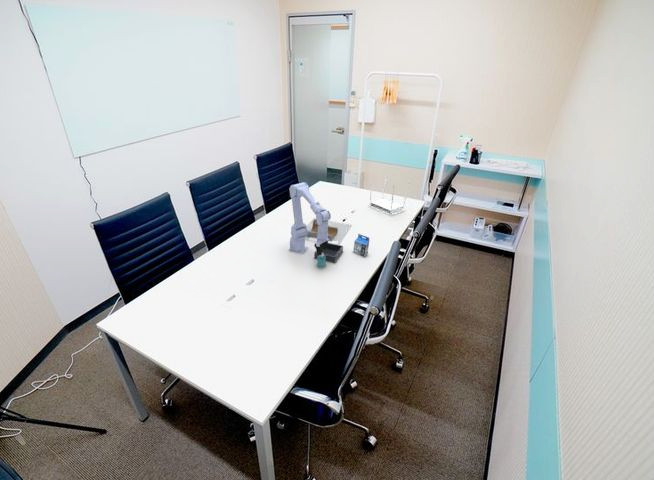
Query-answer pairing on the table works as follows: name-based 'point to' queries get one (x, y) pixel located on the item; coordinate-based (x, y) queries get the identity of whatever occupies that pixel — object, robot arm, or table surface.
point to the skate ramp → (334, 230)
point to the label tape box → (361, 245)
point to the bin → (331, 252)
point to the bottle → (321, 260)
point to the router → (387, 203)
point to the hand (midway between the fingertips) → (321, 251)
